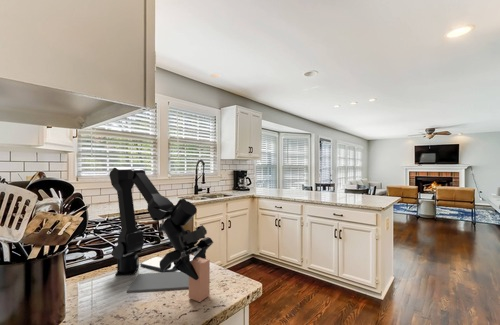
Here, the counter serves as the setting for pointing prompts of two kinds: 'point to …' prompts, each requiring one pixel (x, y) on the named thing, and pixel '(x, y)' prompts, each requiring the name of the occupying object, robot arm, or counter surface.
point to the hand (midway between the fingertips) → (202, 276)
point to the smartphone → (156, 264)
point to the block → (200, 279)
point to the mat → (159, 282)
